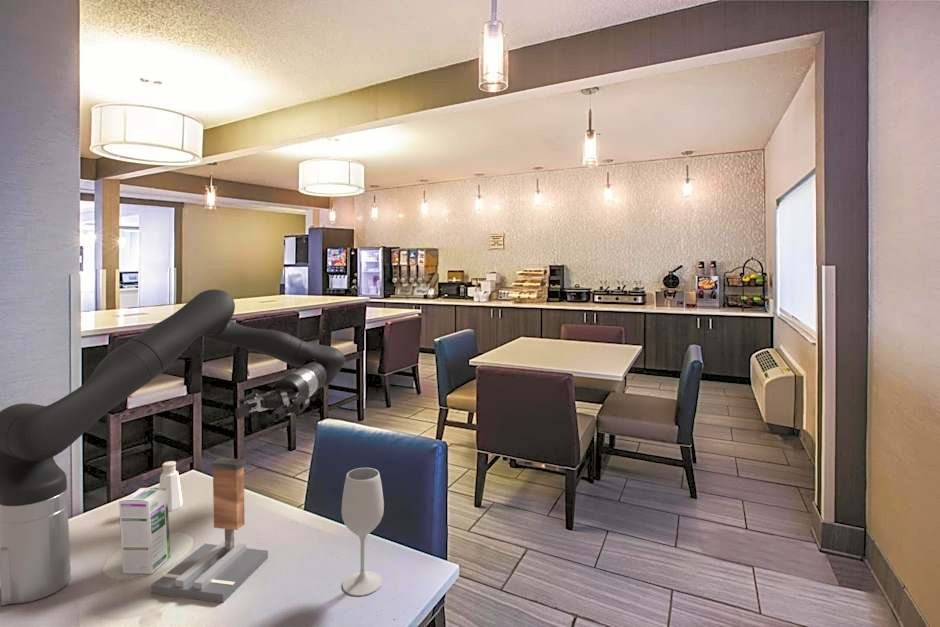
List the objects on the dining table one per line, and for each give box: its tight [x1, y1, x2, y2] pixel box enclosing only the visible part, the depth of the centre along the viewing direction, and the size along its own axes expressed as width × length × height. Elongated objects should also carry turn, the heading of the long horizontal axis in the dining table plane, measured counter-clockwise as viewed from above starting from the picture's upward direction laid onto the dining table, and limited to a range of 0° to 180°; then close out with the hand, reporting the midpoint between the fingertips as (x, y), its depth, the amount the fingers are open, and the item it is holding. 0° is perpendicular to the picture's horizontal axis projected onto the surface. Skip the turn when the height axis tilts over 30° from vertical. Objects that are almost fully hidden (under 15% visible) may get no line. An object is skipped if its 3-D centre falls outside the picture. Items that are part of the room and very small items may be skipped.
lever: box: [210, 457, 246, 553], centre depth 98 cm, size 3×5×18 cm, turn 81°
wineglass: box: [341, 467, 385, 597], centre depth 91 cm, size 8×8×21 cm
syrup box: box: [119, 487, 171, 575], centre depth 96 cm, size 6×6×14 cm
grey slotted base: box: [150, 540, 269, 604], centre depth 94 cm, size 14×14×3 cm
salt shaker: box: [158, 460, 184, 512], centre depth 120 cm, size 5×5×11 cm
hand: (255, 416), depth 103 cm, fingers open, 8 cm apart
